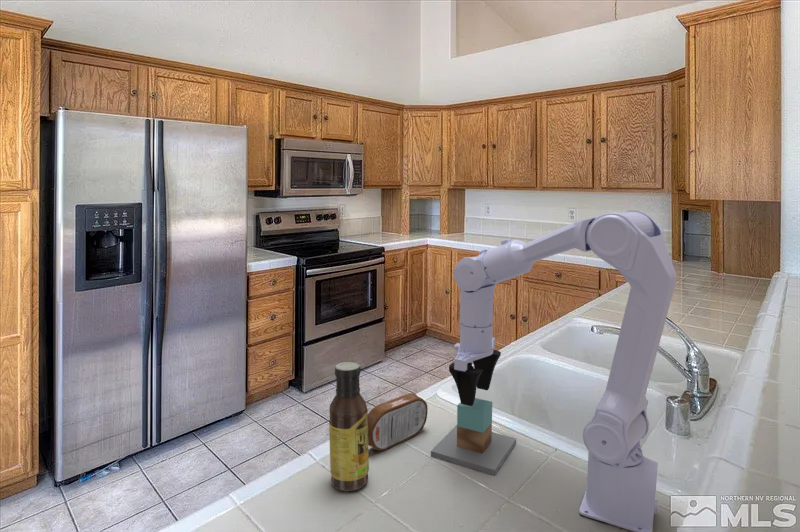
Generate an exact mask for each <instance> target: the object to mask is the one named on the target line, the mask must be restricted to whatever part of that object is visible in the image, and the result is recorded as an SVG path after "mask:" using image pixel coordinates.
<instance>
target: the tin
mask: <svg viewBox="0 0 800 532" xmlns="http://www.w3.org/2000/svg"><path fill="white" fill-rule="evenodd" d="M427 418H428V403H427V402H426V401H425V400H424V398H423V397H420V396H419V395H417V394H416V393H413V392H411V393H410V392H409V393H406V394H403V395H400V396H398V397H395V398H392V399H390V400H387V401H385V402H381V403H379V404H377V405H375V406H374V407H373V408H372V409H371V410H370V411H369V412H368V447H371V448H372V449H373V450H375V451H378V452H379V451H380V452H381V451H386V450H388V449H391V448H393V447H394V446H397V445H399V444H401V443H403V442H405V441H407V440H410V439H412V438H414V437H415V436H417V435H419V433H421V432H422V430H423V428H424V427H425V425H426V423H427Z"/></svg>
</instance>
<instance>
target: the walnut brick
mask: <svg viewBox="0 0 800 532" xmlns="http://www.w3.org/2000/svg"><path fill="white" fill-rule="evenodd" d="M492 426H493V422H492V423H491V424H490V425H489V426H488V428H487V429H486V430H485V431H484V433H482V432H478V431H474V430H470V429H466V428H463V427H459V426H457V447H461V448H464V449H468V450H471V451H475V452H478V453H482V454H483V453H484V451H485V450H486V449H487V447H488V446H489V445H490V444H491V441H492V430H493V427H492Z"/></svg>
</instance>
